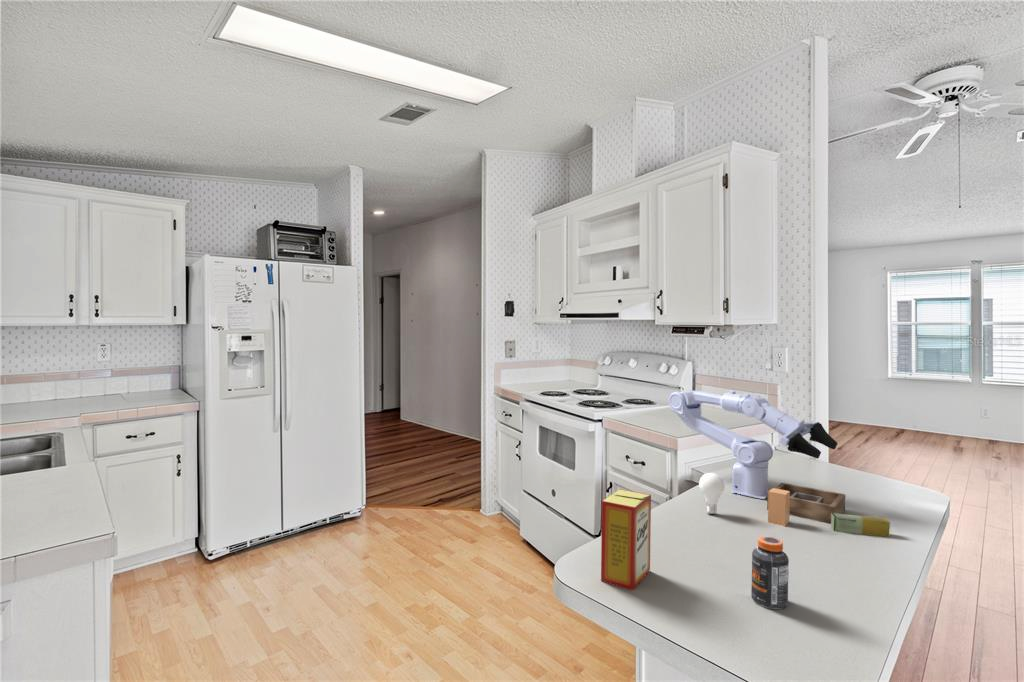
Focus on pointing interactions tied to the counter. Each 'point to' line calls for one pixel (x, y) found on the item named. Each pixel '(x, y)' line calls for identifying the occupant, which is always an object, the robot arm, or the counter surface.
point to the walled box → (813, 502)
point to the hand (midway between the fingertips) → (827, 450)
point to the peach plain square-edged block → (778, 506)
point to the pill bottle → (770, 573)
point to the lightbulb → (711, 490)
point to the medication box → (860, 524)
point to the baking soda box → (625, 538)
